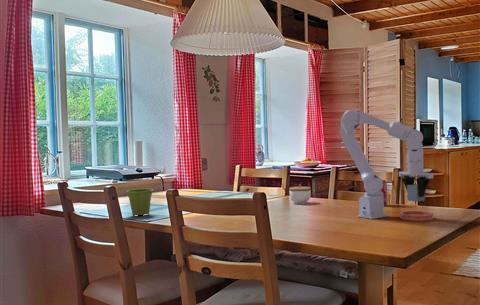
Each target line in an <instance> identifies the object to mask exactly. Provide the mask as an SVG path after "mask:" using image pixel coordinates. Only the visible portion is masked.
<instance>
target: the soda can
mask: <svg viewBox="0 0 480 305" xmlns="http://www.w3.org/2000/svg"><path fill="white" fill-rule="evenodd" d="M380 179H381V180H382V181H383V188H382V190H381V191H382V193H383V199H384V207H385V206H386V205H387V204H388V184H387V181H386V179H385V178H384V179H383V178H380Z"/></svg>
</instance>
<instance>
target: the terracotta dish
mask: <svg viewBox="0 0 480 305" xmlns="http://www.w3.org/2000/svg"><path fill="white" fill-rule="evenodd" d="M399 218H400V220H403V221H410V222H429V221H433V220H434V212H430V211H423V210H405V211H401V212H399Z"/></svg>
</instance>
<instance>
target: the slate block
mask: <svg viewBox="0 0 480 305" xmlns="http://www.w3.org/2000/svg"><path fill="white" fill-rule="evenodd" d="M406 192H407V193H406V194H407V195H406V196H407V198H406V199H407V201H411V202H424V201H425V200H426V194H424V197H419V194H418V185H417V183H414V184H412V185H407V189H406Z"/></svg>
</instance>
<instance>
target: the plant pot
mask: <svg viewBox="0 0 480 305" xmlns="http://www.w3.org/2000/svg"><path fill="white" fill-rule="evenodd" d="M153 191H154V189H153V188H137V189H135V188H134V189H129V190H126V191H125V192H126V193H127V197H128V199H129V200H128V201H129V204H130V208H131V213H132V214H131V215H132V216H133V215H144V214H149V215H150V210H151V209H150V208H151V200H152V195H153V194H152V193H153Z"/></svg>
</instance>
